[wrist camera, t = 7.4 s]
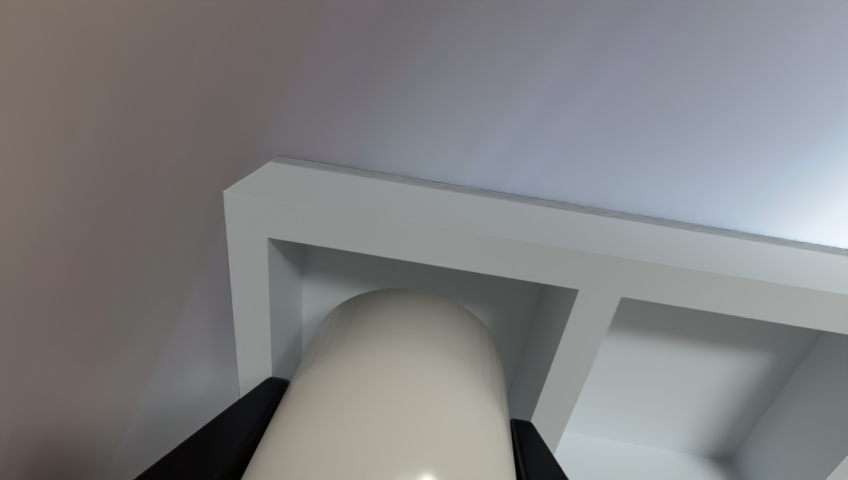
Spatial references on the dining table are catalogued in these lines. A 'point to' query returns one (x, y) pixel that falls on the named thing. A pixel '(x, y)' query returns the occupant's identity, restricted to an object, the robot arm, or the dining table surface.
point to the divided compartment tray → (569, 316)
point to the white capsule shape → (393, 397)
